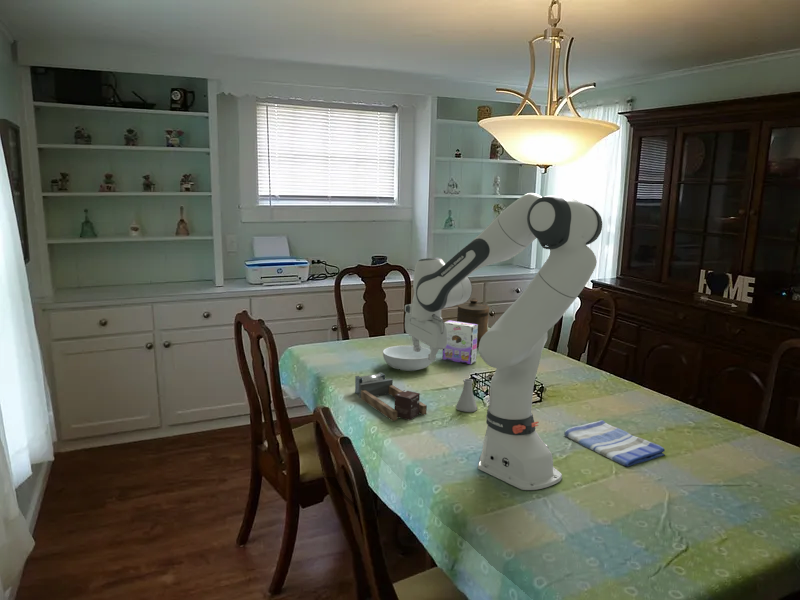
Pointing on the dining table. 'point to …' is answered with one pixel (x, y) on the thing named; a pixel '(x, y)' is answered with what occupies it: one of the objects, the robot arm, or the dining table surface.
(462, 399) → the flask
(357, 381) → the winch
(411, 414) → the box
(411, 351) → the serving bowl
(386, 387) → the bay
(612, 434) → the dish towel
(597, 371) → the dining table surface
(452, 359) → the candy box
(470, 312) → the wooden container
